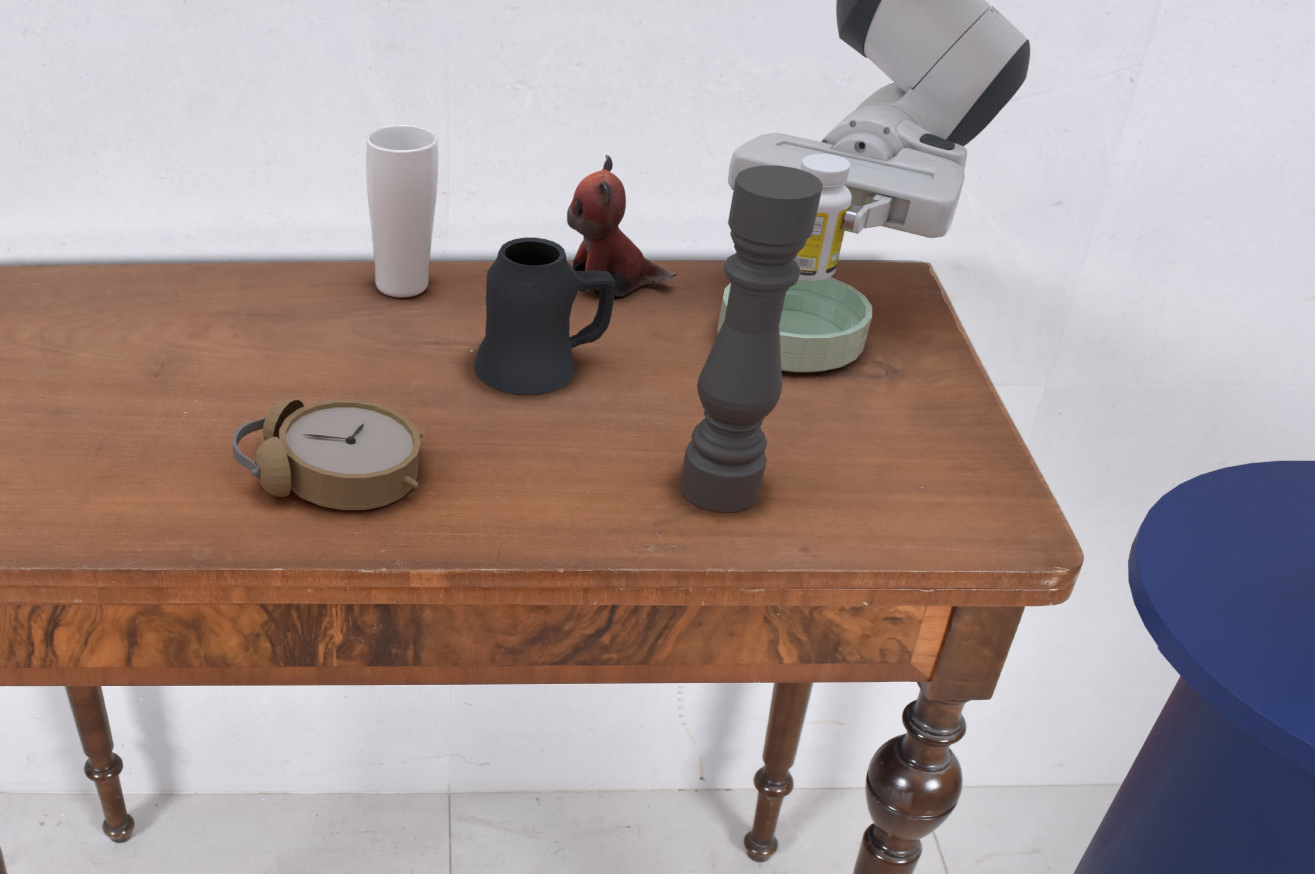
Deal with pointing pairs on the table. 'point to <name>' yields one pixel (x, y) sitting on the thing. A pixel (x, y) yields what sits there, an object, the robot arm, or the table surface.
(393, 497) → the alarm clock
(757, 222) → the candle holder
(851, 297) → the bowl
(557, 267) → the mug
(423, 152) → the drinking glass
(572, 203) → the stuffed fox
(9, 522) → the table surface
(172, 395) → the table surface
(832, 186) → the supplement bottle
